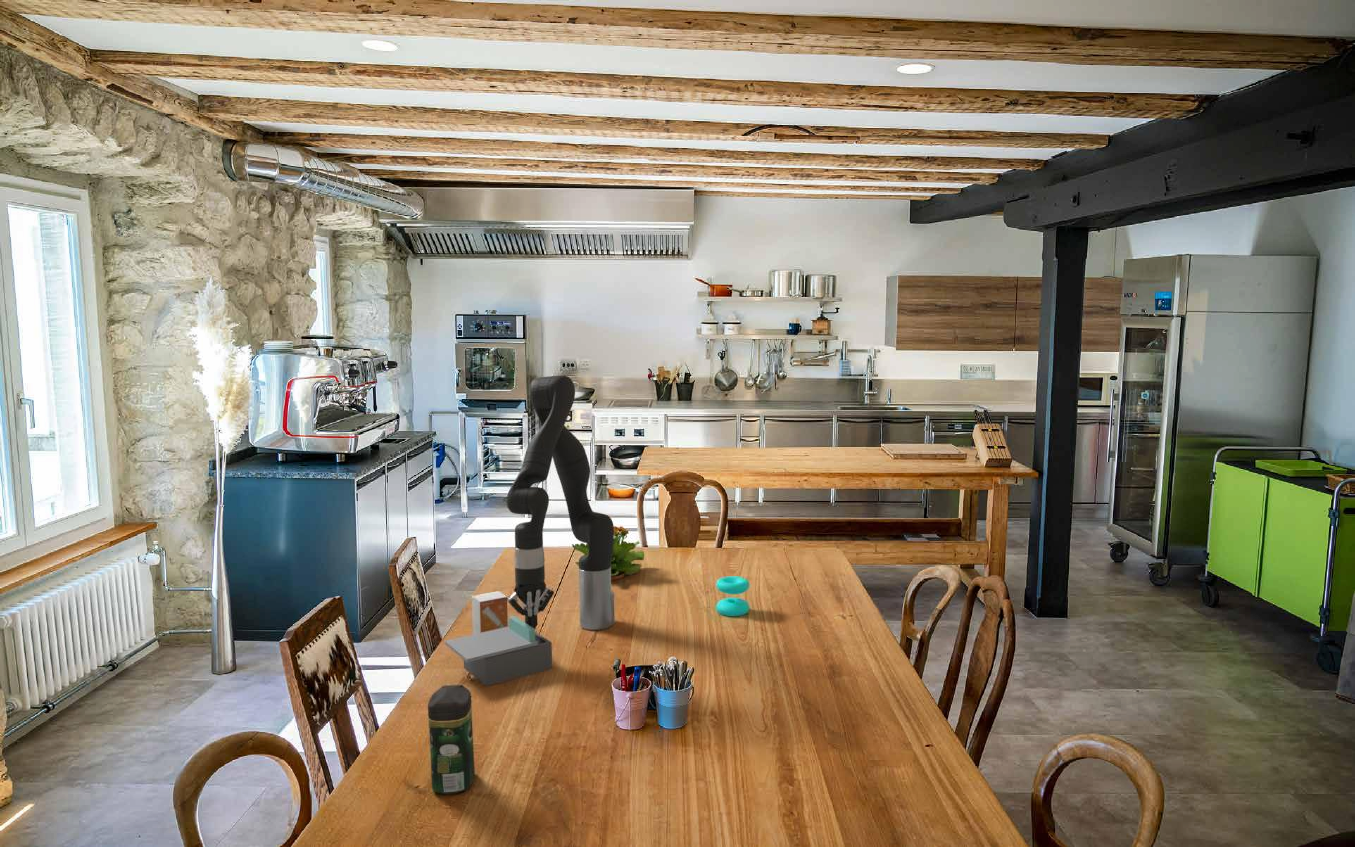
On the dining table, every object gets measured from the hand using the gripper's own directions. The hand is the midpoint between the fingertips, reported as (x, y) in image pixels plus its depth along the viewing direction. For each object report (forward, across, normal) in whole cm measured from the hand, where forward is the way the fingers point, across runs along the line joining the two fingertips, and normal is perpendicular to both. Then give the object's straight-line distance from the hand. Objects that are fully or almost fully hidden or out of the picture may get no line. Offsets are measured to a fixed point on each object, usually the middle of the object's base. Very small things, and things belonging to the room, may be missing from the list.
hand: (531, 628), depth 227 cm
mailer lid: (+2, +11, 0) cm, 11 cm away
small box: (+9, +3, -20) cm, 22 cm away
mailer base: (+9, +7, 0) cm, 11 cm away
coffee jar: (+9, +39, +45) cm, 60 cm away
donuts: (+9, -66, +1) cm, 67 cm away
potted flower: (+9, -54, -52) cm, 76 cm away
